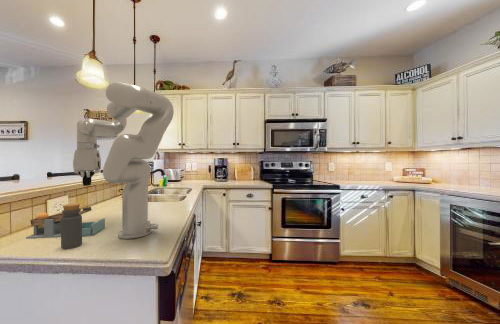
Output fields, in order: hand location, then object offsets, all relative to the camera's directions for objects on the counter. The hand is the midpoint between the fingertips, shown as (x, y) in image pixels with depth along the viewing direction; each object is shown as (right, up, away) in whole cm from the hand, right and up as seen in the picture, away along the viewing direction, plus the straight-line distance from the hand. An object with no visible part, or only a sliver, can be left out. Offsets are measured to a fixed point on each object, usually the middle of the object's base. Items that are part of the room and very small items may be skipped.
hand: (87, 185), depth 101 cm
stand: (-4, -19, -12) cm, 23 cm away
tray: (+8, -19, -10) cm, 23 cm away
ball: (-9, -12, -13) cm, 19 cm away
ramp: (-4, -15, -7) cm, 17 cm away
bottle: (+13, -19, -24) cm, 34 cm away
